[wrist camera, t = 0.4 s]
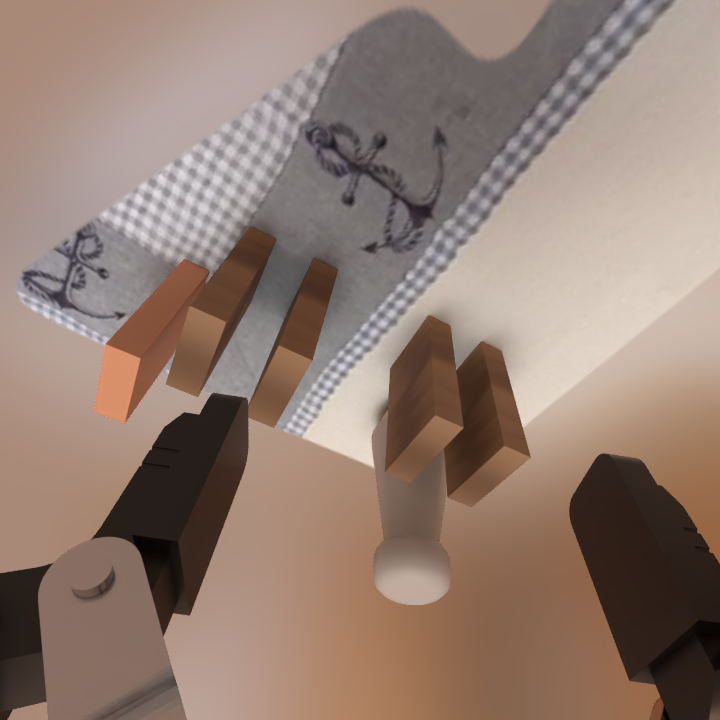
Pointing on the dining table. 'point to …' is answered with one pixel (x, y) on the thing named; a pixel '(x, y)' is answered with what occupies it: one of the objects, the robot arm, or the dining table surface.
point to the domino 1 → (146, 342)
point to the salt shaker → (410, 530)
